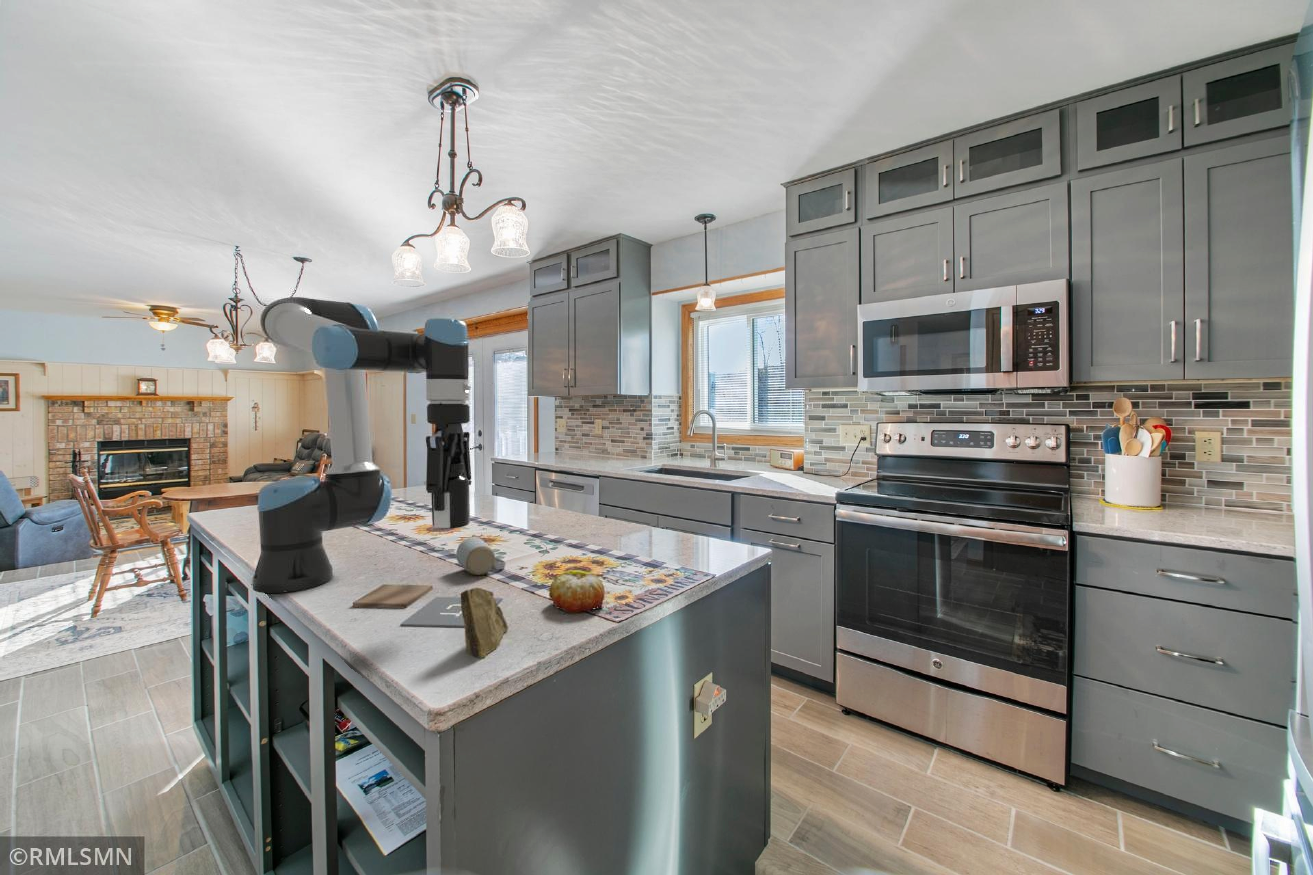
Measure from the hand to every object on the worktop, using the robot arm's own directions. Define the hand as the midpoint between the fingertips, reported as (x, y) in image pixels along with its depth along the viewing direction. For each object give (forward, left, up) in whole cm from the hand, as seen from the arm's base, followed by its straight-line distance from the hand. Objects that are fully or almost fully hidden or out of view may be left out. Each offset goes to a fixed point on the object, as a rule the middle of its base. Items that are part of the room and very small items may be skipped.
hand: (451, 522), depth 106 cm
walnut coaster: (-16, +7, -17) cm, 24 cm away
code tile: (0, 0, -17) cm, 17 cm away
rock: (+12, -13, -18) cm, 25 cm away
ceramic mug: (-5, +26, -18) cm, 32 cm away
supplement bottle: (0, 0, -1) cm, 1 cm away
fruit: (+23, +5, -18) cm, 30 cm away
